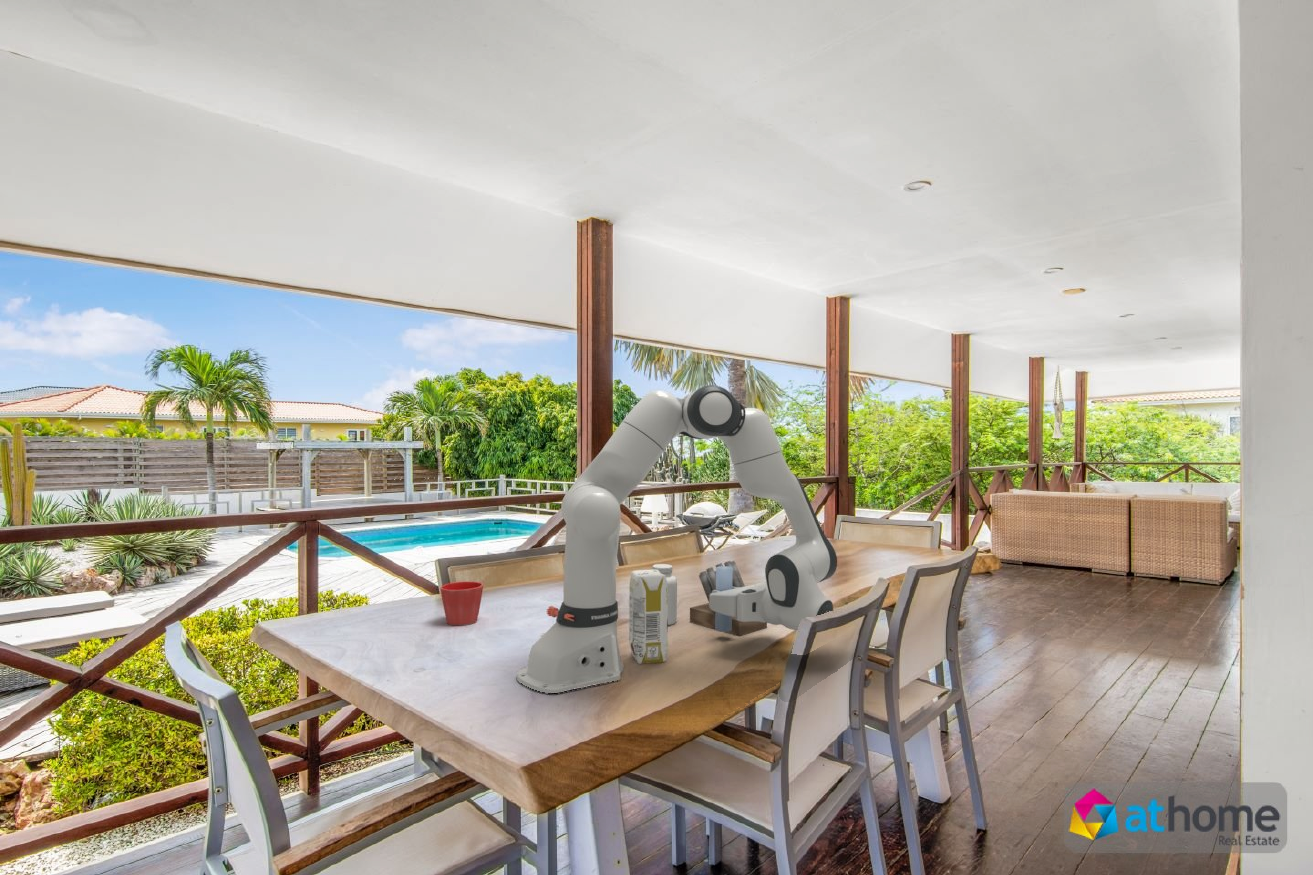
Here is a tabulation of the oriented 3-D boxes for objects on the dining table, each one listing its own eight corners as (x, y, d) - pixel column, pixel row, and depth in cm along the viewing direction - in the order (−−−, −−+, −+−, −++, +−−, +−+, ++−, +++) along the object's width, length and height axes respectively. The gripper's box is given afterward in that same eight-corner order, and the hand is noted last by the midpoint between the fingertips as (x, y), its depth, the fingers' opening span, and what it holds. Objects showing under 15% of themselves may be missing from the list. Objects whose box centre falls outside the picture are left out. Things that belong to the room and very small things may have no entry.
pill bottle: (677, 626, 173) (677, 568, 173) (646, 626, 174) (646, 568, 174) (676, 618, 181) (676, 562, 181) (647, 617, 182) (647, 562, 182)
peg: (724, 632, 160) (725, 570, 160) (711, 629, 163) (712, 567, 163) (735, 629, 163) (736, 568, 163) (722, 626, 166) (723, 565, 166)
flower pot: (437, 619, 180) (437, 583, 180) (479, 614, 185) (479, 579, 185) (443, 629, 170) (443, 591, 170) (486, 624, 175) (486, 587, 175)
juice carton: (636, 665, 143) (636, 577, 143) (627, 653, 152) (627, 569, 152) (670, 662, 145) (670, 575, 145) (659, 650, 154) (659, 568, 154)
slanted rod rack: (766, 630, 173) (767, 562, 172) (739, 638, 165) (739, 568, 165) (717, 617, 185) (717, 553, 185) (689, 624, 178) (690, 558, 178)
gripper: (793, 582, 161) (748, 573, 171) (738, 594, 147) (692, 584, 157) (793, 608, 160) (748, 598, 171) (737, 623, 147) (692, 610, 157)
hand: (721, 591), depth 164 cm, fingers closed on peg, 4 cm apart
